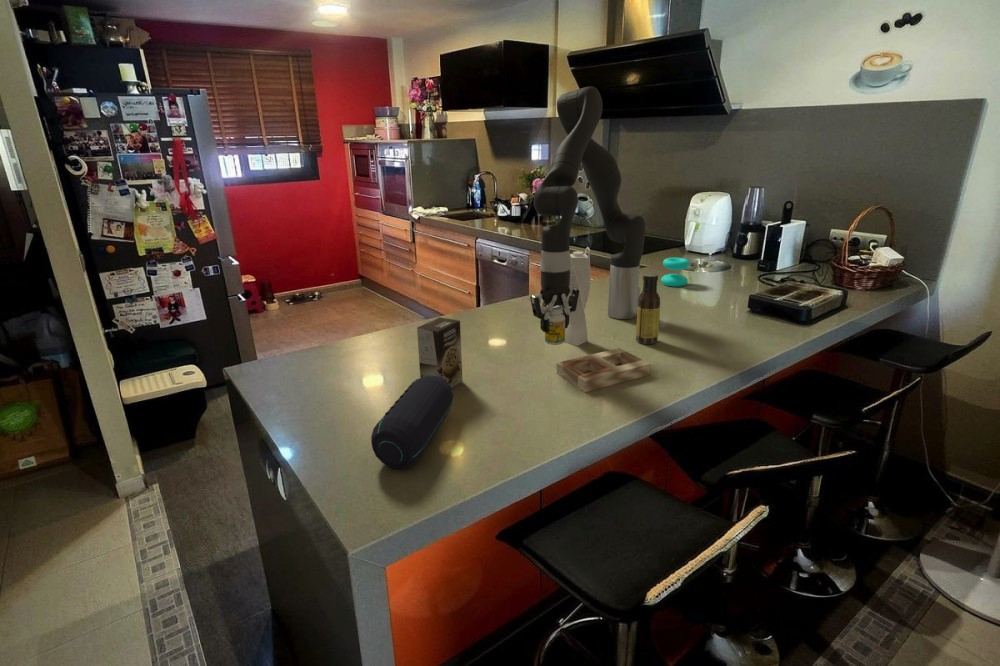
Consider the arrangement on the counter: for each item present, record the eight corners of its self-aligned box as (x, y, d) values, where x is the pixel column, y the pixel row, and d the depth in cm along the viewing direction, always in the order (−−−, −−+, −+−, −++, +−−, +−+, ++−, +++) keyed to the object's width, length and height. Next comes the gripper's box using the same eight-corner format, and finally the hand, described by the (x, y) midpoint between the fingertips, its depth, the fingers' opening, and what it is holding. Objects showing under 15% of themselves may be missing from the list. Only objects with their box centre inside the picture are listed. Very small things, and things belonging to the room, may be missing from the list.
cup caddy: (618, 358, 144) (619, 346, 143) (649, 374, 134) (650, 362, 133) (556, 373, 135) (556, 361, 134) (584, 392, 125) (584, 379, 124)
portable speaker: (415, 408, 120) (412, 367, 116) (458, 412, 118) (456, 371, 114) (365, 473, 97) (359, 425, 93) (417, 480, 95) (413, 431, 91)
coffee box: (441, 396, 125) (437, 331, 119) (420, 389, 128) (415, 327, 122) (464, 381, 132) (461, 320, 126) (443, 375, 135) (439, 315, 130)
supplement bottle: (566, 338, 144) (567, 305, 140) (562, 346, 139) (563, 311, 135) (547, 337, 145) (547, 303, 142) (542, 344, 140) (542, 310, 137)
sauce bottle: (662, 342, 154) (668, 275, 147) (647, 346, 151) (653, 278, 144) (645, 335, 159) (650, 270, 152) (630, 340, 156) (635, 274, 149)
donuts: (660, 256, 214) (685, 256, 213) (658, 281, 217) (682, 280, 217) (667, 262, 204) (693, 262, 204) (665, 287, 208) (690, 287, 208)
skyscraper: (594, 341, 156) (598, 246, 146) (579, 348, 151) (582, 250, 141) (571, 334, 161) (574, 243, 151) (557, 341, 156) (559, 247, 146)
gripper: (570, 260, 141) (569, 320, 147) (523, 268, 135) (524, 330, 141) (587, 266, 135) (585, 328, 141) (538, 274, 128) (539, 339, 135)
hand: (554, 329), depth 141 cm, fingers closed on supplement bottle, 5 cm apart
